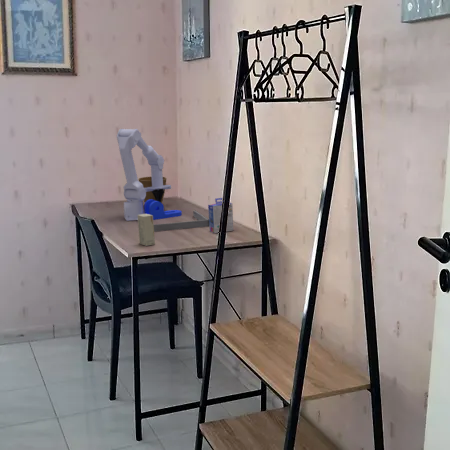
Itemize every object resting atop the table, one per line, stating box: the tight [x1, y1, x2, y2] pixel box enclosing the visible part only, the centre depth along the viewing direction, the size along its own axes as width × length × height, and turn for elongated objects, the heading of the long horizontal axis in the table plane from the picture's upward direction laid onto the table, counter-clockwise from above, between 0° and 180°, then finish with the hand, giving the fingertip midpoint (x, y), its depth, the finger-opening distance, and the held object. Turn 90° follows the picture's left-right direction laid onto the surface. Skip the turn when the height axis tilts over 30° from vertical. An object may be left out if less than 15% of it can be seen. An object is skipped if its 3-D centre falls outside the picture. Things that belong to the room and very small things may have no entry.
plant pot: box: [138, 176, 167, 204], centre depth 337 cm, size 15×15×16 cm
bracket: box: [143, 199, 183, 221], centre depth 313 cm, size 18×8×9 cm, turn 120°
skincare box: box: [137, 214, 156, 247], centre depth 256 cm, size 6×4×12 cm
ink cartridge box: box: [207, 197, 234, 234], centre depth 275 cm, size 10×6×14 cm, turn 118°
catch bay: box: [154, 209, 209, 233], centre depth 295 cm, size 28×25×3 cm
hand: (158, 204), depth 326 cm, fingers closed
